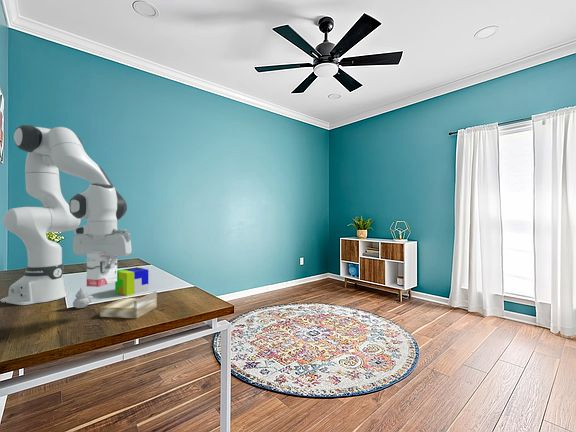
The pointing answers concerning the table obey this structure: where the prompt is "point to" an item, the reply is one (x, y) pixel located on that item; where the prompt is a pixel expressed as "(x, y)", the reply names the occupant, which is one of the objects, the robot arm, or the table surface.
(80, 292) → the grey tiered figurine
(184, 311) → the table surface
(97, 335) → the table surface
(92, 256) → the ink box
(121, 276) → the puzzle toy
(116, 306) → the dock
